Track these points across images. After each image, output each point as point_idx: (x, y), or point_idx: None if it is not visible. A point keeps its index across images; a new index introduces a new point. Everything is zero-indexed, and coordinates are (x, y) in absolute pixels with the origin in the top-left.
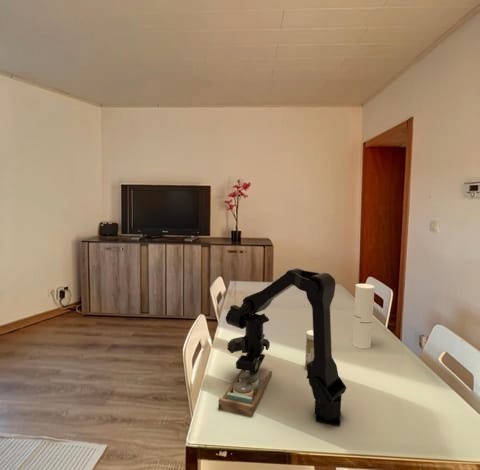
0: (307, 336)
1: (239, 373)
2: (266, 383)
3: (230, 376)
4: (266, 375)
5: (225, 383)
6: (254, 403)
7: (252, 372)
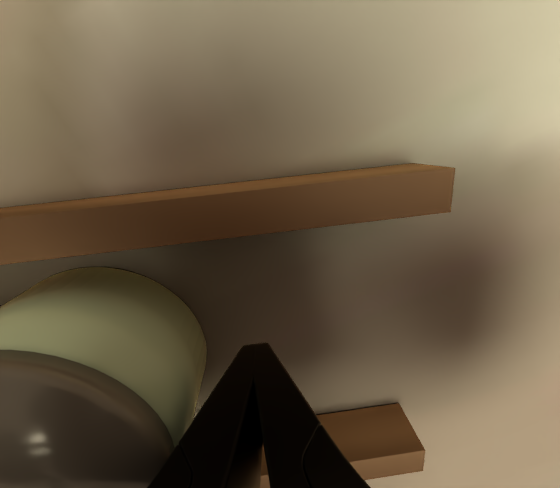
0: None
1: (221, 204)
2: None
3: (220, 53)
4: None
5: (18, 70)
6: None
7: None
